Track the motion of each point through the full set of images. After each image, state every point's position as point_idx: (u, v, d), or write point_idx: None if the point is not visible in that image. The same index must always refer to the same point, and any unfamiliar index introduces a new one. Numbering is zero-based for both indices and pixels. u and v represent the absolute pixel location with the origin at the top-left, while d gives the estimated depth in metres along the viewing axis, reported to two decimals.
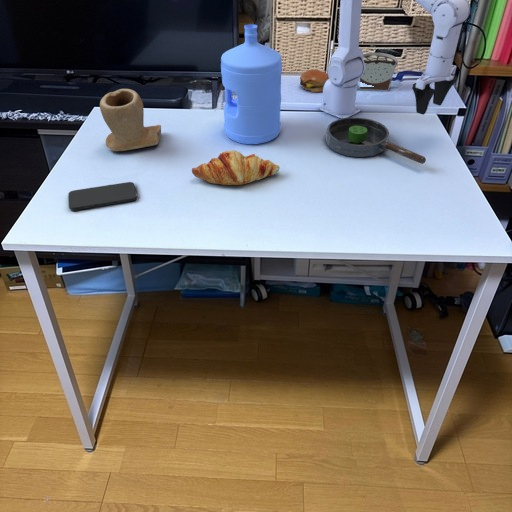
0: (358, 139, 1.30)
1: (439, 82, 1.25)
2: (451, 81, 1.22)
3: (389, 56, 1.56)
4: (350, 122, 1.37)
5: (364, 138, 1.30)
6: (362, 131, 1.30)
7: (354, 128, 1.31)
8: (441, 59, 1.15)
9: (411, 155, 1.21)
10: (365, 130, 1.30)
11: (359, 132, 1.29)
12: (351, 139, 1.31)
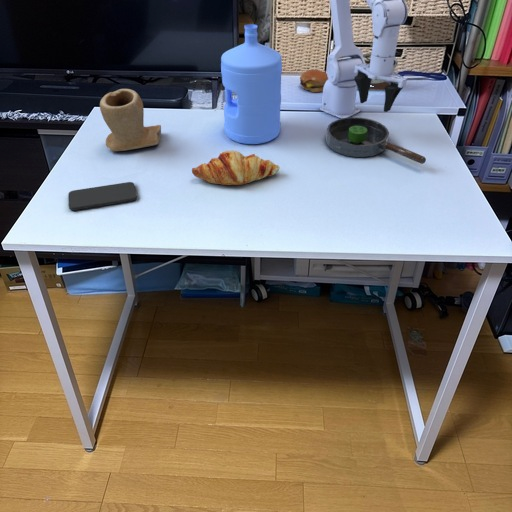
0: (358, 139, 1.30)
1: None
2: None
3: None
4: (350, 122, 1.37)
5: (364, 138, 1.30)
6: (362, 131, 1.30)
7: (354, 128, 1.31)
8: (371, 54, 1.23)
9: (411, 155, 1.21)
10: (365, 130, 1.30)
11: (359, 132, 1.29)
12: (351, 139, 1.31)
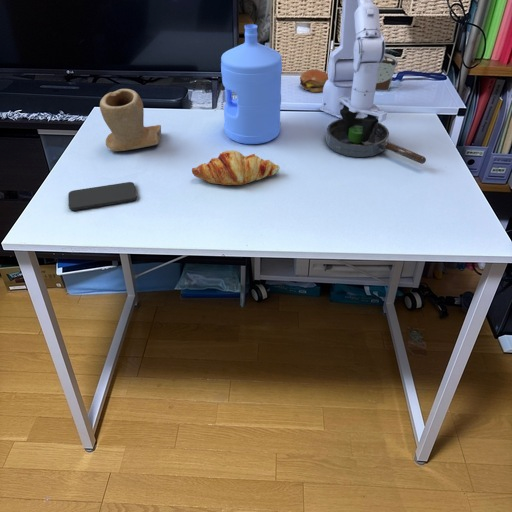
0: (358, 139, 1.30)
1: None
2: None
3: (389, 56, 1.56)
4: None
5: None
6: (362, 131, 1.30)
7: (354, 128, 1.31)
8: (352, 87, 1.24)
9: (411, 155, 1.21)
10: None
11: (359, 132, 1.29)
12: (351, 139, 1.31)
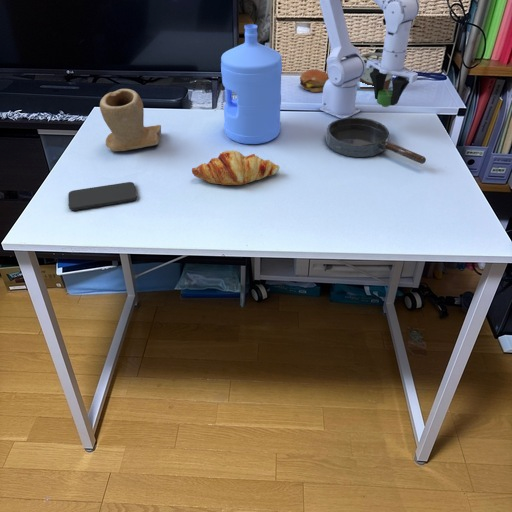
0: (387, 102, 1.31)
1: None
2: None
3: None
4: (350, 122, 1.37)
5: None
6: (391, 94, 1.31)
7: (383, 91, 1.32)
8: (383, 49, 1.25)
9: (411, 155, 1.21)
10: None
11: (389, 95, 1.31)
12: (380, 102, 1.32)
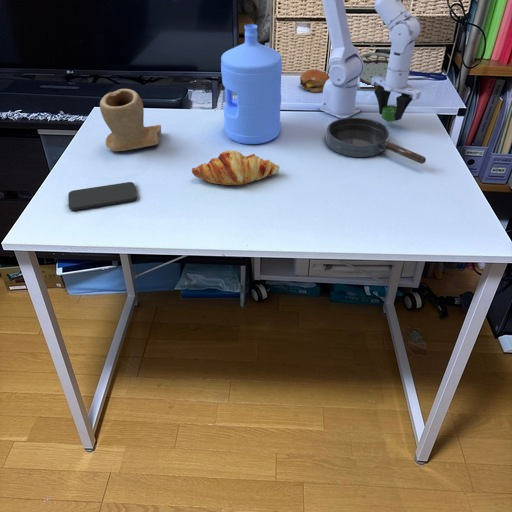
0: (392, 118, 1.36)
1: None
2: None
3: None
4: (350, 122, 1.37)
5: None
6: None
7: (388, 107, 1.37)
8: None
9: (411, 155, 1.21)
10: None
11: (393, 111, 1.36)
12: (385, 118, 1.37)
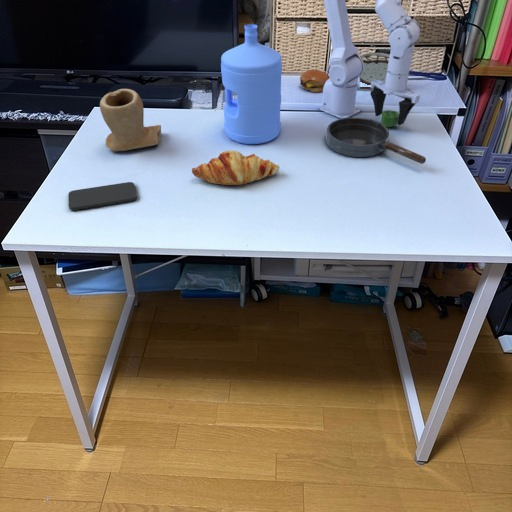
0: (391, 123, 1.37)
1: None
2: None
3: None
4: (350, 122, 1.37)
5: (396, 122, 1.38)
6: (395, 115, 1.37)
7: (387, 112, 1.38)
8: (387, 71, 1.31)
9: (411, 155, 1.21)
10: (397, 114, 1.38)
11: (392, 116, 1.37)
12: (384, 123, 1.38)
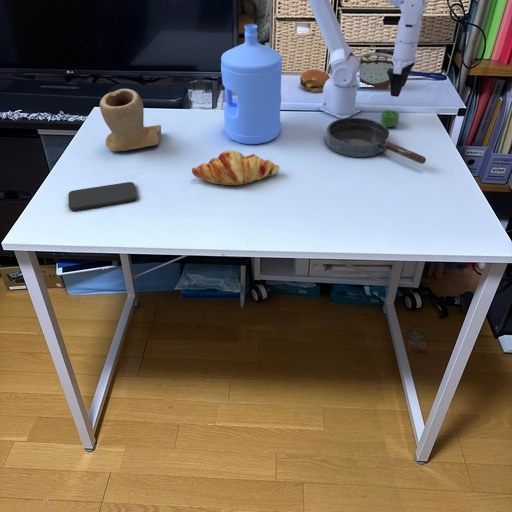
0: (391, 123, 1.37)
1: None
2: (413, 63, 1.36)
3: (389, 56, 1.56)
4: (350, 122, 1.37)
5: (396, 122, 1.38)
6: (395, 115, 1.37)
7: (387, 112, 1.38)
8: (410, 44, 1.27)
9: (411, 155, 1.21)
10: (397, 114, 1.38)
11: (392, 116, 1.37)
12: (384, 123, 1.38)
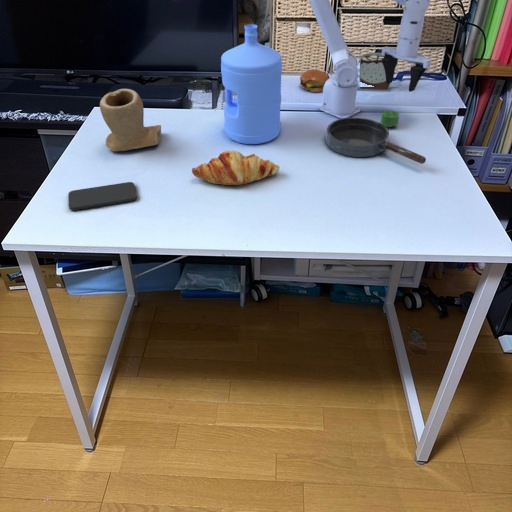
0: (391, 123, 1.37)
1: (391, 64, 1.39)
2: None
3: None
4: (350, 122, 1.37)
5: (396, 122, 1.38)
6: (395, 115, 1.37)
7: (387, 112, 1.38)
8: None
9: (411, 155, 1.21)
10: (397, 114, 1.38)
11: (392, 116, 1.37)
12: (384, 123, 1.38)
